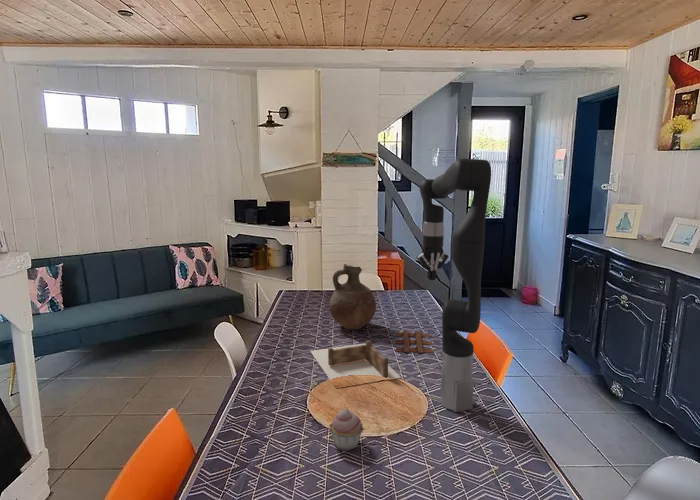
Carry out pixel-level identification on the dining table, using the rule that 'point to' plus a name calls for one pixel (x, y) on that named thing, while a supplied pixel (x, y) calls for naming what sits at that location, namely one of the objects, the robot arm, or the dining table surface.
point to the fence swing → (346, 355)
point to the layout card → (348, 366)
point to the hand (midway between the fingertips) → (431, 279)
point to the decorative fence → (413, 342)
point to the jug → (351, 300)
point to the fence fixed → (376, 359)
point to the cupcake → (346, 430)
